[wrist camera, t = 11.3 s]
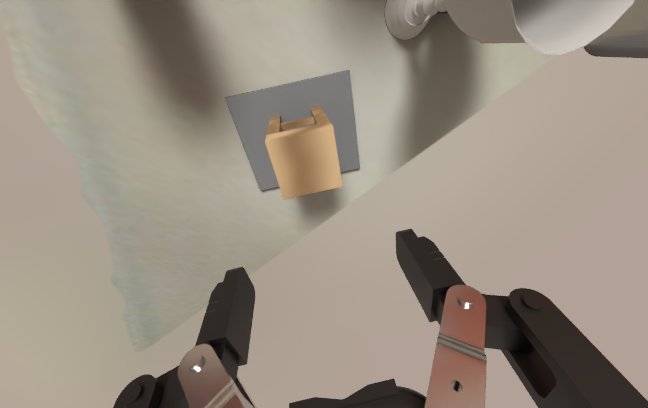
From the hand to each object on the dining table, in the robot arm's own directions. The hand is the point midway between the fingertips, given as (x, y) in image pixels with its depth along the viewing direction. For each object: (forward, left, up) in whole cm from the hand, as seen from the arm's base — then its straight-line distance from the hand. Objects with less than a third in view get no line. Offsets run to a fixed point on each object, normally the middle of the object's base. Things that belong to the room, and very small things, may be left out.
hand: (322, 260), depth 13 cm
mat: (0, 0, -21) cm, 21 cm away
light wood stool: (0, 0, -21) cm, 21 cm away
